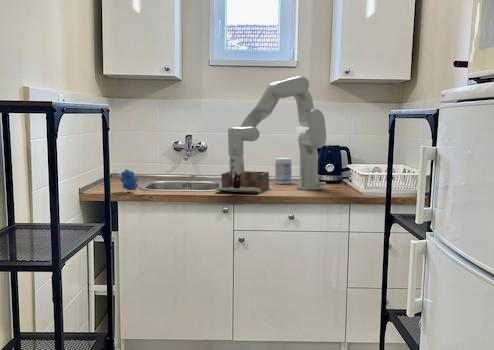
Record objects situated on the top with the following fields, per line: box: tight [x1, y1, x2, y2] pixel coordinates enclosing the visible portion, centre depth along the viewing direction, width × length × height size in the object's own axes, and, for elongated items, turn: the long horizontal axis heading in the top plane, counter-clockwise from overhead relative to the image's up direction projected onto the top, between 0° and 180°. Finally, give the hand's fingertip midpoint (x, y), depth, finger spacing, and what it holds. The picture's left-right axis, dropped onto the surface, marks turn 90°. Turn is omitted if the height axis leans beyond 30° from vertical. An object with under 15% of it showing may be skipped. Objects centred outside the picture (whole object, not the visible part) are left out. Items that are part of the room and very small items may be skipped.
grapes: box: [120, 168, 139, 191], centre depth 244 cm, size 12×7×12 cm, turn 59°
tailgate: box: [214, 187, 262, 193], centre depth 240 cm, size 22×1×9 cm
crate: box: [221, 170, 270, 193], centre depth 252 cm, size 22×15×9 cm, turn 73°
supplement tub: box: [274, 157, 292, 185], centre depth 275 cm, size 10×10×15 cm
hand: (237, 188), depth 237 cm, fingers closed
